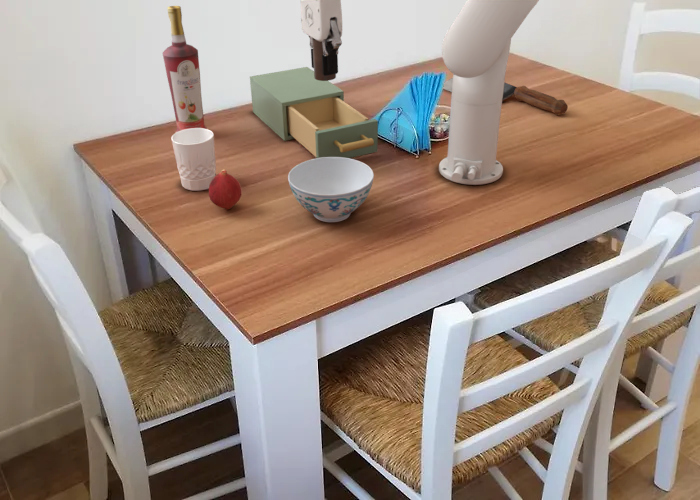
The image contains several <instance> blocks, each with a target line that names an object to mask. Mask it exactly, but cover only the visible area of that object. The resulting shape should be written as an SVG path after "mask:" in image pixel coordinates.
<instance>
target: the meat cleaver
mask: <svg viewBox="0 0 700 500" xmlns="http://www.w3.org/2000/svg"><path fill="white" fill-rule="evenodd" d="M444 82H445V83H444ZM444 82H443V83H444V87H443V88H442V89H443V90H445V91H448V92H450V93H452V83H453V77H451V78H450V79H448V80H446V81H444ZM512 96H514V97H515V99H516V100H517V101H519V102H525V103H526V104H528V105H530V106H533V107H535V108H538V109H541V110H543V111H546V112H553V113H554V114H555V115H556V116H561V115H564V114H566V113H567V110H568V104H567V102H566V101H565V100H564V99H557V98H556V97H554V96H552V95H549V94H547V93H544V92H541V91H538V90H535V89H531V88H528V87H527V86H526V85H521V86H515V85H512V84H510V83H508V82H505V81H504V90H503V98H502V101H504V100H506V99H508V98H510V97H512Z"/></svg>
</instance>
